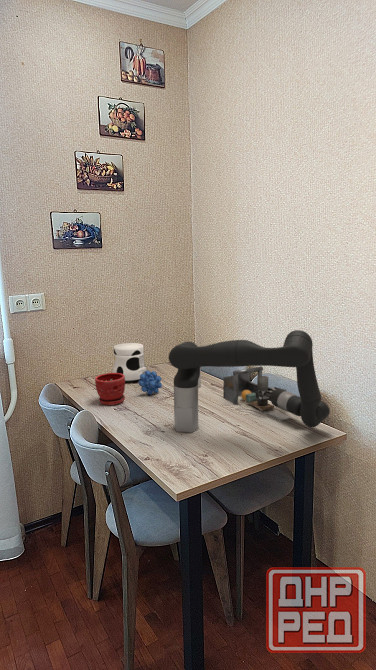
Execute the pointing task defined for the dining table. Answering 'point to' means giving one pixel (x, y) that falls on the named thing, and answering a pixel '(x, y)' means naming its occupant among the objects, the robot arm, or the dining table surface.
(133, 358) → the milk container
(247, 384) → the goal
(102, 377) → the plant pot
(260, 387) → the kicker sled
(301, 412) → the robot arm
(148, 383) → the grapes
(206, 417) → the dining table surface
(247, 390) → the ball
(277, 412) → the rail
